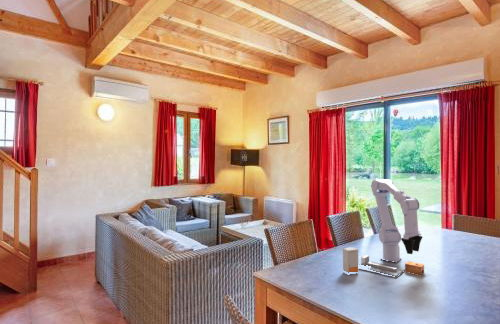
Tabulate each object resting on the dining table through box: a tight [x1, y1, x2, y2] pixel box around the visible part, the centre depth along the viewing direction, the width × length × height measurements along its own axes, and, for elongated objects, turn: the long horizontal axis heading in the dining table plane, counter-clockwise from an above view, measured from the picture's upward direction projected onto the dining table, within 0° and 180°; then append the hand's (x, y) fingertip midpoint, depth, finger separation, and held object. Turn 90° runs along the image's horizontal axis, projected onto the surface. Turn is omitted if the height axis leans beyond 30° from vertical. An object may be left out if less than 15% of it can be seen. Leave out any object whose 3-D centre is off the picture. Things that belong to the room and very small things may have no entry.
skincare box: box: [342, 246, 359, 273], centre depth 144 cm, size 6×4×12 cm
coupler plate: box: [360, 254, 405, 278], centre depth 148 cm, size 12×19×5 cm, turn 45°
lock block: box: [404, 261, 425, 276], centre depth 143 cm, size 7×5×4 cm, turn 45°
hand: (412, 252), depth 143 cm, fingers open, 7 cm apart
